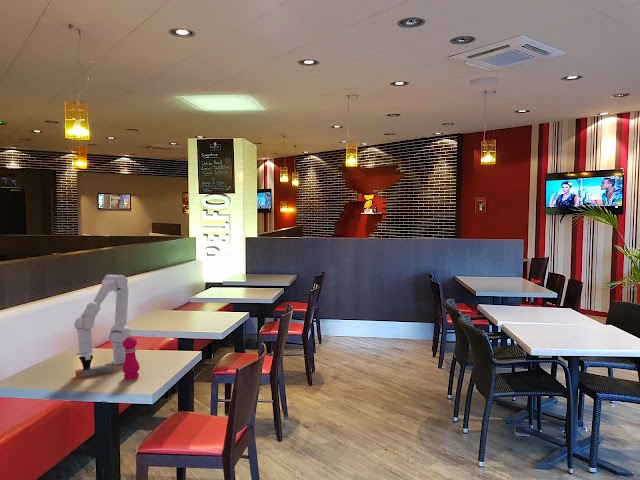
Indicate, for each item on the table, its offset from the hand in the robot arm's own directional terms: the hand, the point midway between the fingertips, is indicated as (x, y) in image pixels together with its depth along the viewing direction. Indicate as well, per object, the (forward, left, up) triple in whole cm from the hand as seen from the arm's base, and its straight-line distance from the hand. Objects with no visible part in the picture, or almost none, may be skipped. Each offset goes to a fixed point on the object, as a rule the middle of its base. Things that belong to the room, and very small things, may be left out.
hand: (86, 371), depth 227 cm
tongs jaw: (-1, +2, -1) cm, 2 cm away
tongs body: (-3, +2, -1) cm, 4 cm away
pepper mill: (-16, +17, -2) cm, 24 cm away
